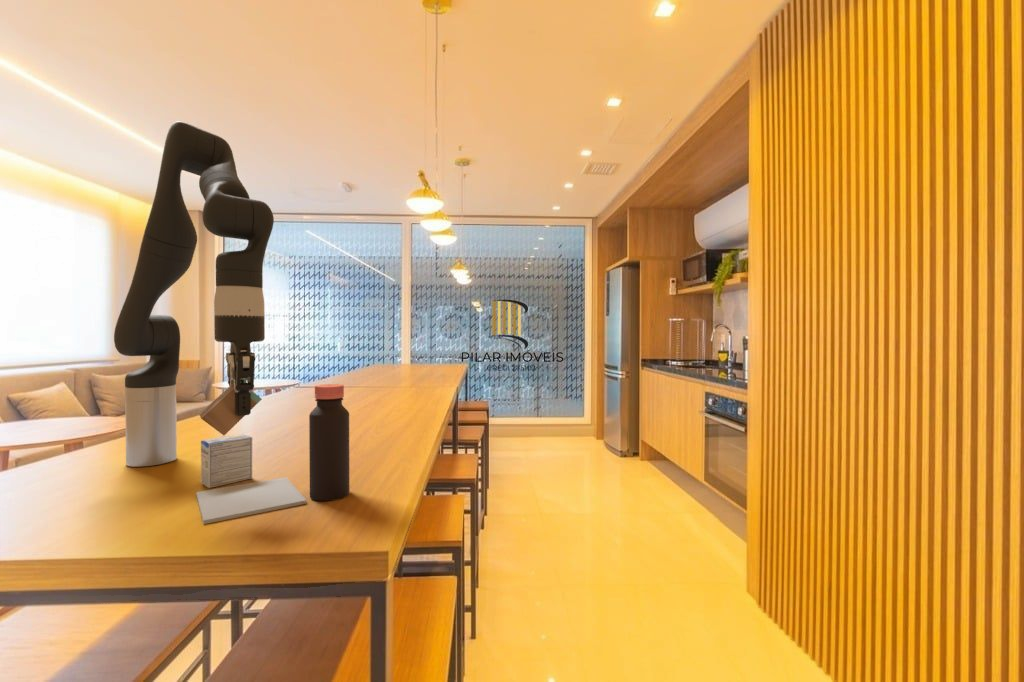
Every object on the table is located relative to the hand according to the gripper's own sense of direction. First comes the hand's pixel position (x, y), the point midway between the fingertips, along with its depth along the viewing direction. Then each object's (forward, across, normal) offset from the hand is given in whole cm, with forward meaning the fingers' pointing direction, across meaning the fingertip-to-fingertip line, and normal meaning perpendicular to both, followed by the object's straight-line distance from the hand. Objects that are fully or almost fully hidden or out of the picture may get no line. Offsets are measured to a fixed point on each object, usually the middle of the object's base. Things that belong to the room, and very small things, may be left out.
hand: (240, 412), depth 83 cm
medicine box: (+16, +15, 0) cm, 22 cm away
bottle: (+16, -5, -13) cm, 21 cm away
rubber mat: (+16, +1, -1) cm, 16 cm away
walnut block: (+2, 0, +4) cm, 5 cm away
